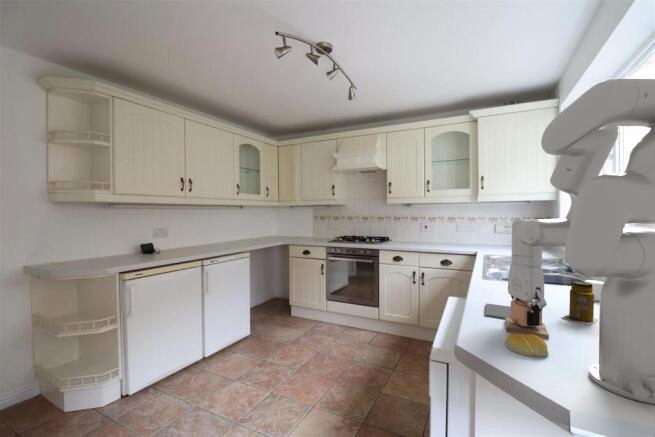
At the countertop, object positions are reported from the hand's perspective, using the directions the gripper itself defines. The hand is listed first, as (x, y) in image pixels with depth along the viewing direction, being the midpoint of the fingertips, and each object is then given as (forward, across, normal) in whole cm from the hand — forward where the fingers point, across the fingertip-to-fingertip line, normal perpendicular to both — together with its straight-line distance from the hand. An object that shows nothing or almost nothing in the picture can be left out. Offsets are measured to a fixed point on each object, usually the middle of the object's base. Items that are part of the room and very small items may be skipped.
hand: (525, 320), depth 88 cm
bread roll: (+3, +13, -8) cm, 15 cm away
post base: (+3, 0, 0) cm, 3 cm away
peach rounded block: (0, 0, 0) cm, 0 cm away
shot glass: (+3, -32, +49) cm, 59 cm away
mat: (+3, -14, +4) cm, 15 cm away
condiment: (+3, -8, +23) cm, 25 cm away
